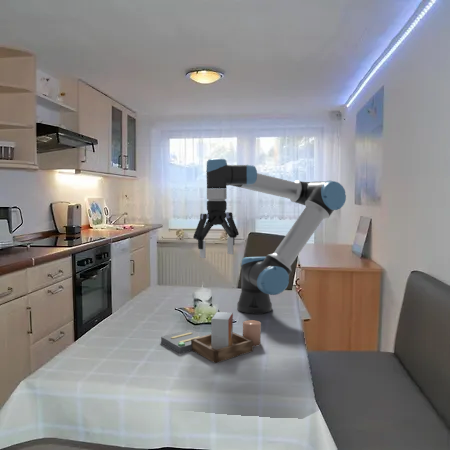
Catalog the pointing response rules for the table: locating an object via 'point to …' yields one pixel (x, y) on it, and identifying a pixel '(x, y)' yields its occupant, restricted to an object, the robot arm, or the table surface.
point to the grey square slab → (180, 340)
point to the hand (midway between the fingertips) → (216, 255)
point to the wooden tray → (237, 348)
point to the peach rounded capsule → (252, 331)
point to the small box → (221, 330)
